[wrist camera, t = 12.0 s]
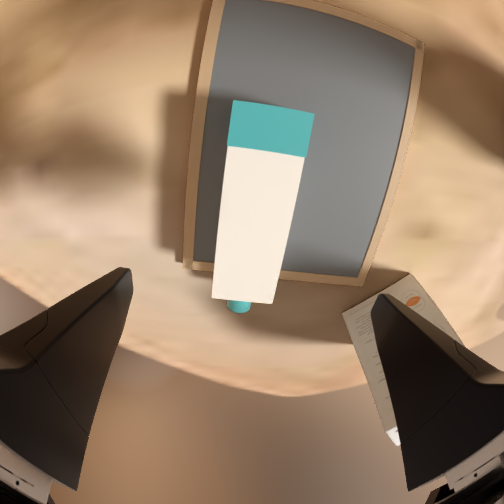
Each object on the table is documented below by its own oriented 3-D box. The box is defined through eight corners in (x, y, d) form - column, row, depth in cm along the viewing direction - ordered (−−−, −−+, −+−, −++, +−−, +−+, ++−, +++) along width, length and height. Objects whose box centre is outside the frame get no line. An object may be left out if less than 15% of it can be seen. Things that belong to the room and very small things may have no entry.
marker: (299, 112, 16) (314, 113, 13) (263, 291, 23) (267, 326, 19) (235, 102, 16) (233, 100, 12) (213, 286, 22) (209, 321, 19)
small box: (358, 345, 28) (394, 448, 17) (339, 311, 25) (383, 433, 14) (421, 310, 26) (475, 402, 15) (411, 270, 23) (484, 374, 12)
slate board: (419, 45, 13) (424, 44, 13) (359, 281, 24) (362, 286, 23) (216, -10, 12) (215, -14, 11) (184, 263, 22) (182, 268, 21)
